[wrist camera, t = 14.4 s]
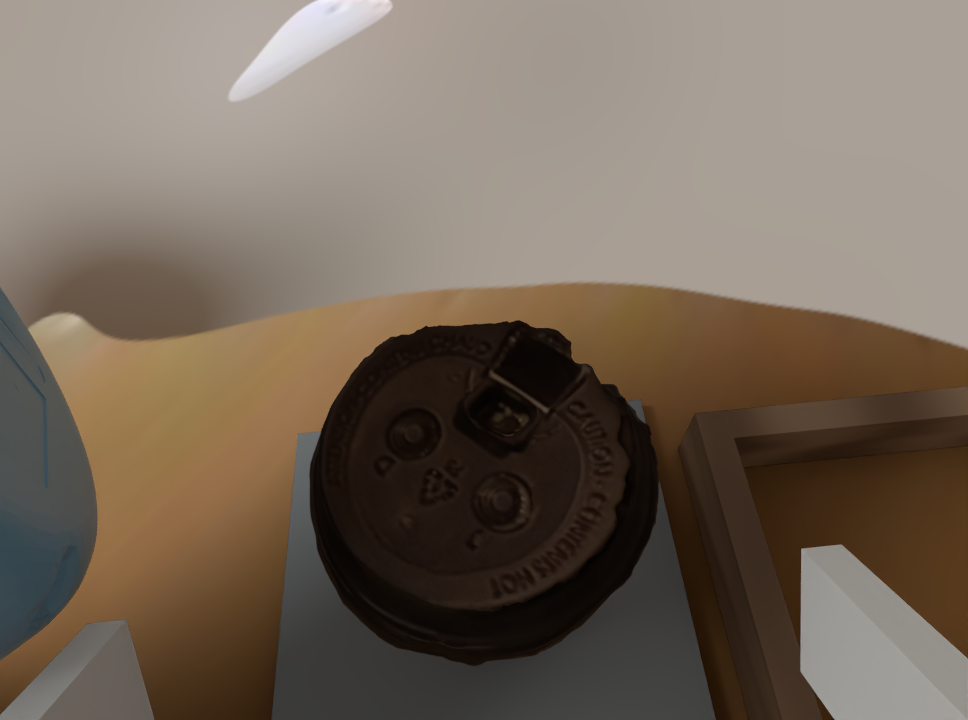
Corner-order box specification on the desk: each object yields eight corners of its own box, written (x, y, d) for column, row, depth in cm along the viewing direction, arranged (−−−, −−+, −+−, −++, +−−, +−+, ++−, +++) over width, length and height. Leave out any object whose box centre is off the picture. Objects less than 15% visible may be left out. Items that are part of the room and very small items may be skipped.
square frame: (794, 895, 19) (841, 925, 16) (677, 447, 28) (695, 413, 25) (1292, 855, 19) (1431, 878, 16) (1026, 413, 27) (1086, 374, 24)
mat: (270, 799, 22) (263, 800, 21) (302, 439, 29) (297, 434, 29) (721, 760, 21) (725, 761, 21) (638, 405, 29) (640, 399, 28)
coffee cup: (576, 455, 27) (606, 263, 16) (641, 658, 23) (743, 589, 12) (382, 499, 27) (274, 334, 16) (410, 716, 22) (289, 701, 11)
